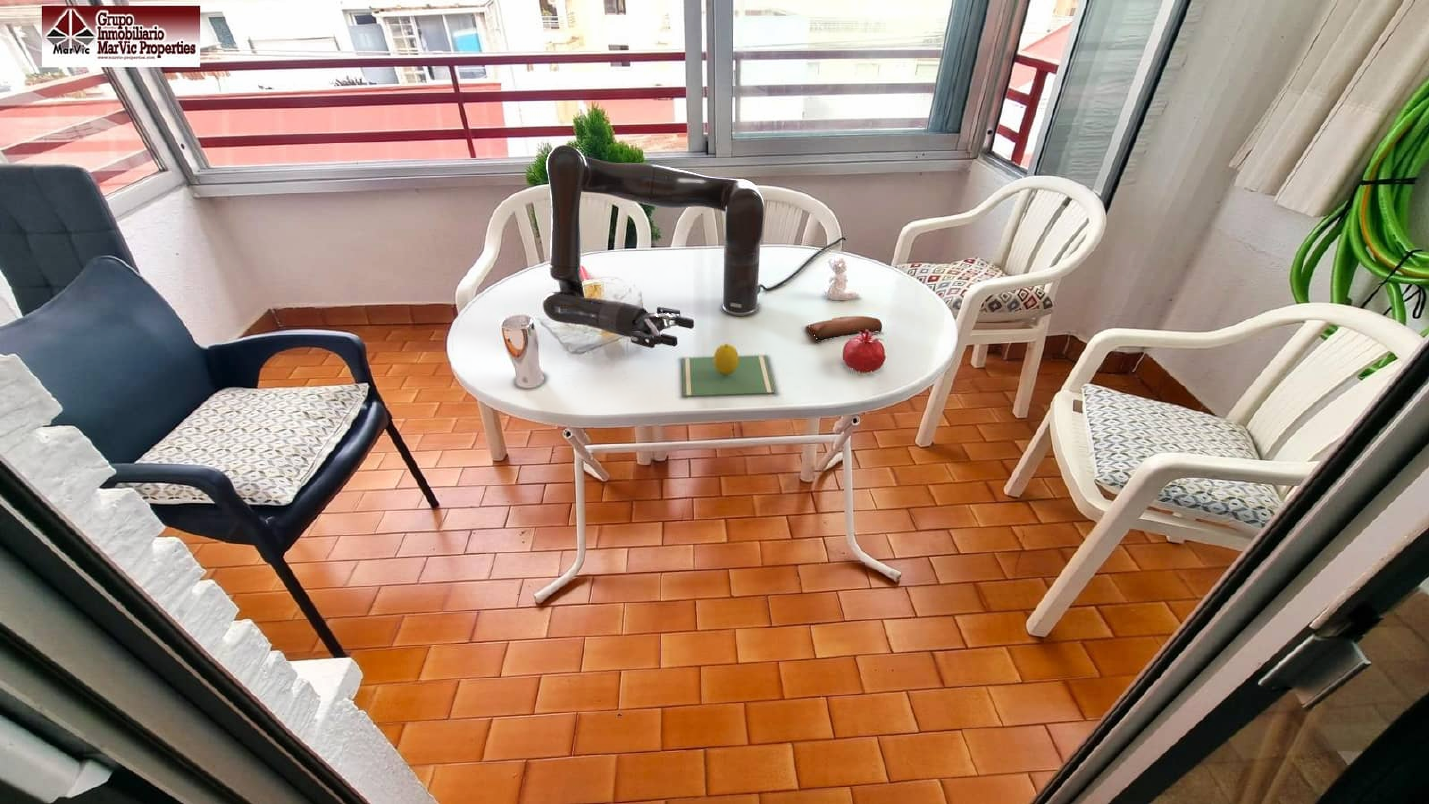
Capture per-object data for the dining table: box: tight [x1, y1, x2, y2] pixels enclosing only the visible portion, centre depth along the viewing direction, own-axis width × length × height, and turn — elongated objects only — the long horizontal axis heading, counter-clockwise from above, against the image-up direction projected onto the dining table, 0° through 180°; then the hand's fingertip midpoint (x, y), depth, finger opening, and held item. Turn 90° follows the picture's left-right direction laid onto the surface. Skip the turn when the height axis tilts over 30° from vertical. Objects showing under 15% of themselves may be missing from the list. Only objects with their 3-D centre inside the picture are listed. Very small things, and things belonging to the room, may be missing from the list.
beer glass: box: [500, 314, 545, 389], centre depth 125 cm, size 7×7×15 cm
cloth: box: [681, 355, 776, 398], centre depth 132 cm, size 15×20×1 cm
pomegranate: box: [842, 330, 887, 374], centre depth 132 cm, size 10×10×9 cm
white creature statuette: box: [823, 255, 860, 301], centre depth 161 cm, size 10×9×12 cm
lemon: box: [713, 343, 739, 375], centre depth 129 cm, size 6×6×8 cm
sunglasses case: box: [805, 315, 883, 343], centre depth 147 cm, size 18×7×7 cm
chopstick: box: [580, 264, 589, 281], centre depth 167 cm, size 24×2×5 cm
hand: (685, 332), depth 130 cm, fingers open, 8 cm apart
